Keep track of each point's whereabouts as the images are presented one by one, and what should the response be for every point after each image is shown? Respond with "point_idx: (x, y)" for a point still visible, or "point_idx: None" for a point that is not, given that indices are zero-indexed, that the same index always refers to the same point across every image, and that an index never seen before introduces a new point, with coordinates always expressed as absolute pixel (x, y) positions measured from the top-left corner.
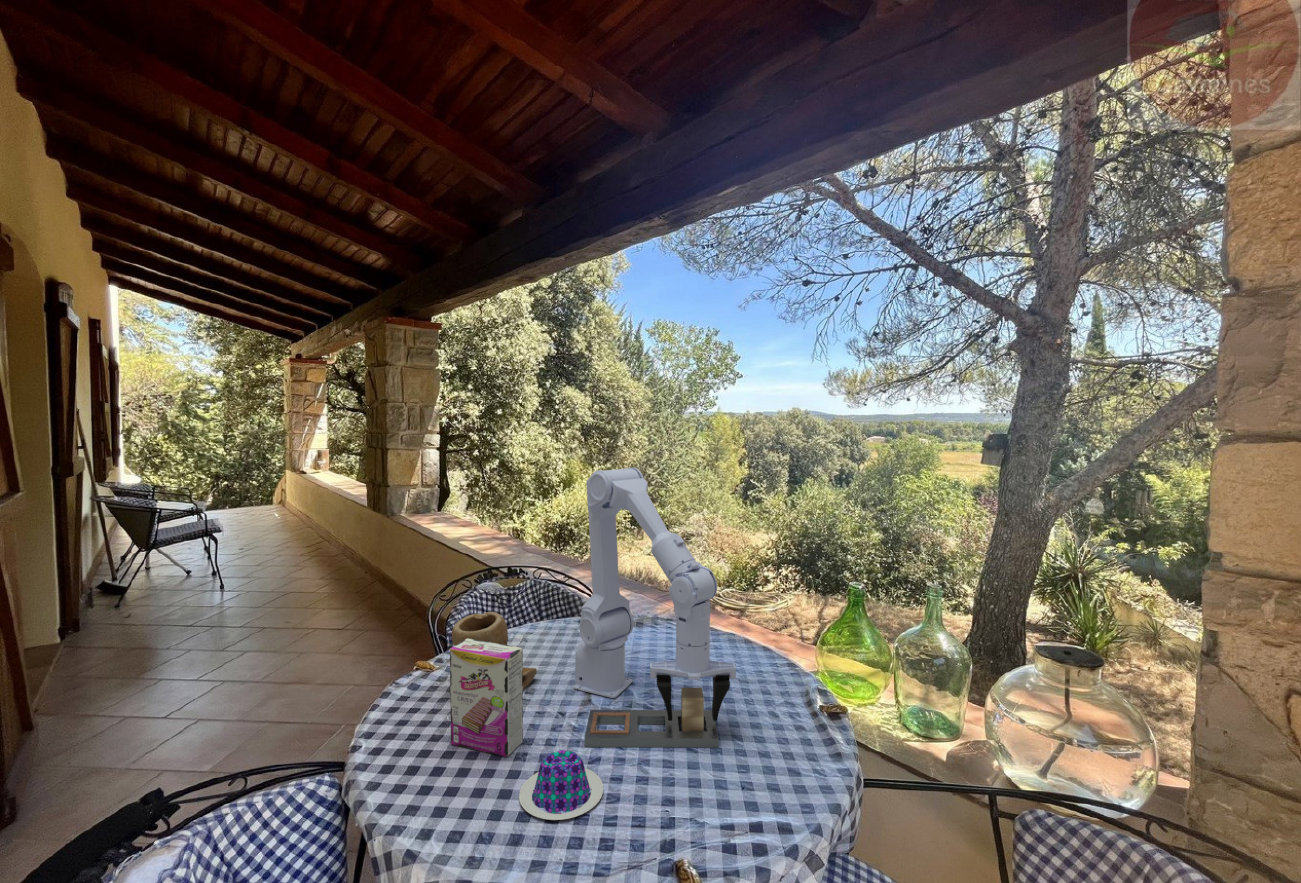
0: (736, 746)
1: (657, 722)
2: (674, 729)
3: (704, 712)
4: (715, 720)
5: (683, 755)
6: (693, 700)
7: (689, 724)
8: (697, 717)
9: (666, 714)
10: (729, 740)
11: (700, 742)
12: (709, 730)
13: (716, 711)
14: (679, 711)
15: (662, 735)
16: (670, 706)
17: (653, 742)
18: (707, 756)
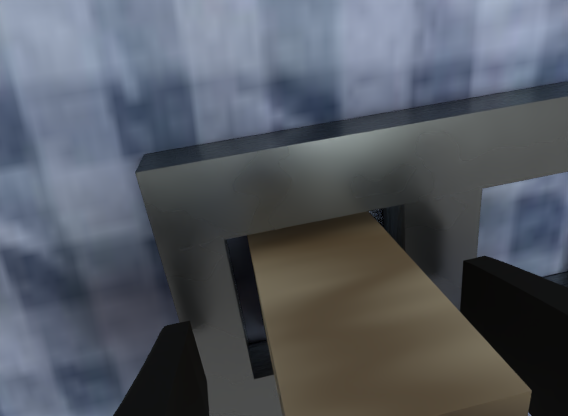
0: (28, 189)
1: None
2: (430, 216)
3: (258, 410)
4: (174, 326)
5: (356, 32)
6: (398, 395)
7: (350, 252)
8: (309, 294)
9: None
10: (87, 241)
11: (260, 142)
12: (211, 253)
13: (157, 371)
14: None
15: (506, 138)
16: (564, 306)
17: (543, 92)
18: (203, 43)
